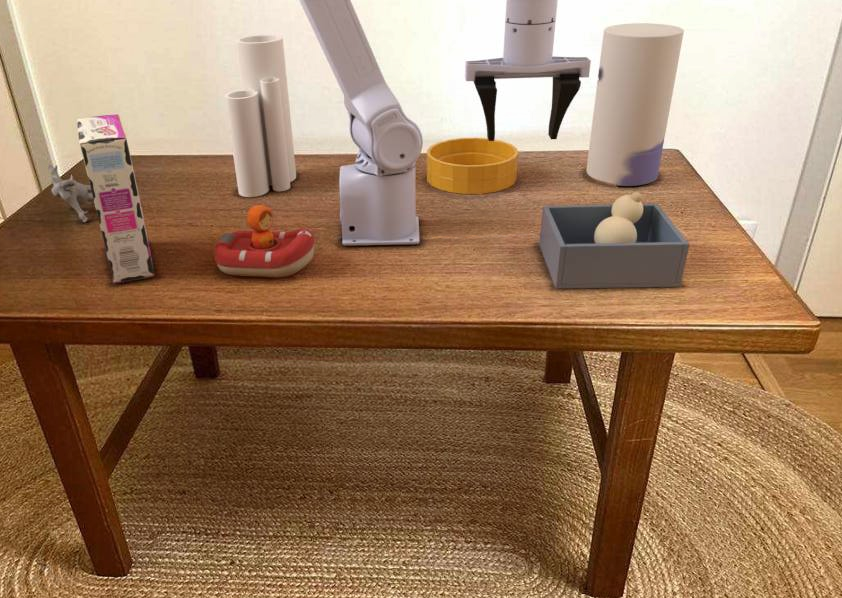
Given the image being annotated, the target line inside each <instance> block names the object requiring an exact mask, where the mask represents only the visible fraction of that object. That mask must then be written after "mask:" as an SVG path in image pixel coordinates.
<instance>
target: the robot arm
mask: <svg viewBox="0 0 842 598" xmlns="http://www.w3.org/2000/svg"><path fill="white" fill-rule="evenodd" d="M298 1H299V3H300V5H301V7H302V10H303V11H304V14H305V16H306V18H307V20H308V22H309V24H310V26H311V28H312V31H313V33H314V34H315V37H316V40H317V41H318V43H319V46H320V47H321V50H322V52H323V54H324V56H325V58H326V60H327V62H328V64H329V67H330V69H331V70H332V73H333V75H334V77H335V79H336V82H337V84H338V87H339V88H340V90H341V92H342V95H343V104H344V107H345V109H346V111H347V114H348V118H349V123H348V124H349V126H348V127H349V135H350V138H351V140H352V142H353V143H354V145H356V147H358V151H357V154H356V159H355V163H353V164H347V165H342V166H340V167H339V203H340V209H339V211H340V212H339V222H340V225H341V235H342V241H341V244H342V246H344V247H345V246H346V247H347V246H348V247H350V246H397V245H399V246H400V245H402V246H403V245H404V246H405V245H419V244H420V222H419V221H420V219H419V216H417V213H416V211H417V208H416V207H417V205H416V204H417V203H416V201H417V200H416V199H417V197H416V194H417V192H416V187H417V186H416V185H417V184H416V183H417V182H416V180H417V179H416V178H417V177H416V172H417V171H416V163H417V161H418V159H419V157H420V156H421V153H422V150H423V146H424V145H423V144H424V140H423V134H422V132H421V128H419V126H418V124H416V122H414V121H413V120H411V119H410V118H409V117H408V116H407V115H406V113H405V112H404V110H403V108H402V105H401V103H400V102H399V100H398V99H397V97H396V95H395V94H394V92H393V91H392V90H391V88H390V87H389V85H388V83H387V82H386V80H385V77H384V74H383V72H382V70H381V68H380V65H379V64H378V61H377V58H376V56H375V54H374V51H373V49H372V46H371V44H370V42H369V40H368V38H367V35H366V33H365V31H364V28H363V26H362V24H361V21H360V20H359V16H358V14H357V11H356V9H355V7H354V4H353V3H352V0H298ZM505 1H506V5H505V17H504V19H505V21H504V35H503V36H504V38H503V53H502V54H503V55H502V57H498V58H496V57H495V58H488V59H479V60H465V63H464V68H465V69H464V79H465V81H466V82H473V85H474V87H475V90H476V92H477V94H478V97H479V100H480V103H481V107H482V111H483V113H484V119H485V124H486V125H485V126H486V137H487V138H488V141H494V140H496V139H495V137H496V104H497V95H498V88H497V81H496V80H500V79H501V80H502V79H504V80H505V79H536V78H552V91H551V92H552V93H551V110H550V116H549V122H548V137H549V139H550V140H557V139H558V135H559V132H560V128H561V126H562V123H563V120H564V118H565V116H566V114H567V112H568V109H569V107H570V106H571V104H572V102H573V100H574V98H575V97H576V95H577V94H578V92H579V91H580V89H581V85H582V81H581V80H580V79H581V78H590V72H591V62H592V61H591V59H590V58H589V57H588V56H553V55H554V42H555V32H556V20H557V10H558V0H505Z"/></svg>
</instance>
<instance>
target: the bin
mask: <svg viewBox="0 0 842 598" xmlns="http://www.w3.org/2000/svg"><path fill="white" fill-rule="evenodd" d="M613 204H614V203H612V204H574V205H572V204H571V205H543V206H542V212H541V222H540V230H539V231H540V233H539V242H538V245H539V248H540V250H541V253H542V256H543V260H544V261H545V264H546V267H547V270H548V273H549V275H550V277H551V280H552V283H553V286H554V288H555V289H556V290H561V289H563V290H564V289H566V290H567V289H617V288H618V289H622V288H623V289H624V288H630V289H631V288H676V287H677V288H680V287H681V286H682V280H683V277H684V271H685V269H686V268H685V267H686V262H687V259H688V258H687V257H688V253H689V250H690V246H691V245H690V242H688V240H687V239H686V238H685V236H684V235H683V233H682V232H681V231H680V230H679V228H678V227H677V226H676V225H675V224H674V222H673V221H672V220H671V218H670V217H669V216H668V215H667V214H666V212H665V211H664V210H663V208H662V207H661V206H660V205H659V203H642V205H643V214H642V216H641V218H640V219H639V220H638V221H637V222H636V223H634V224H633V225H634V226H635V228H636V232H637V239H636V243H602V244H595V241H594V234H595V230H596V228H597V226H598V225H599V224H600V223H601V222H602V221H603V220H604V219H606V218H608V217H612V212H611V210H612V206H613Z"/></svg>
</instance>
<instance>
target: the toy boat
mask: <svg viewBox="0 0 842 598" xmlns="http://www.w3.org/2000/svg"><path fill="white" fill-rule="evenodd" d="M246 220H247V224H248V226H249V227H250V229H252V230H246V229H245V230H237V231H233V232H226V233H224V234H223V235H222V236H221V237H220V238H219V239H218V241H217V243H216V244H215V246H214V261H215V263H216V265H217V267H218V269H219V270H220V271H221V272H222V273H224V274H226V275H229V276H234V277H237V276H239V277H255V278H256V277H258V278H274V279H275V278H279V279H280V278H286V277H289V276H292V275H294V274H296V273H298V272H299V271H301V270H303V268H305V267H306V266H307V265H308V264H309V263H310V262H311V261H312V259H313V257H314V253H315V237H314V233H313V231H312V230H311V229H310V228H306V227H301V228H297V229H294V230H289V231H271V230H270V228H272V226H273V224H274V223H273V222H274V213H273V212H272V210H271V209H270V207H268V206H266V205H264V204H256V205H254V206H252V207H251V208H250V209H249V210H248V212H247V215H246Z"/></svg>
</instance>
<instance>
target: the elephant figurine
mask: <svg viewBox="0 0 842 598" xmlns="http://www.w3.org/2000/svg"><path fill="white" fill-rule="evenodd" d="M47 170H48V171H49V174H50V176H49V181H50V183H52V185H53V186H52V188H51V189H50V191H51V194H52V195H53V196H54V197H55V198H61V199H62V200H63V202H65V203H67V204H69V206H70V207H71V208H72V209H74V210H75V212H76V213H77V214H78V218H79V219H80V220H81V221H82V222H83V223H86V222H88V217H87V216H86V214H88V213H89V211H88V210H86V211H84V210H83V209H82V208H81V205H84V204H85V203H87V202H94V200H93V195H92V191H91V187H90V184H83V183H81V182H77V181H76V180H75V179H74V176H73V175H72V174H70V178H69V179H65V180H63V179H62V178H61V176H60V175H59V173H58V165H55V166H54V167H53V165H52V163H49V164H48V165H47Z"/></svg>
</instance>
